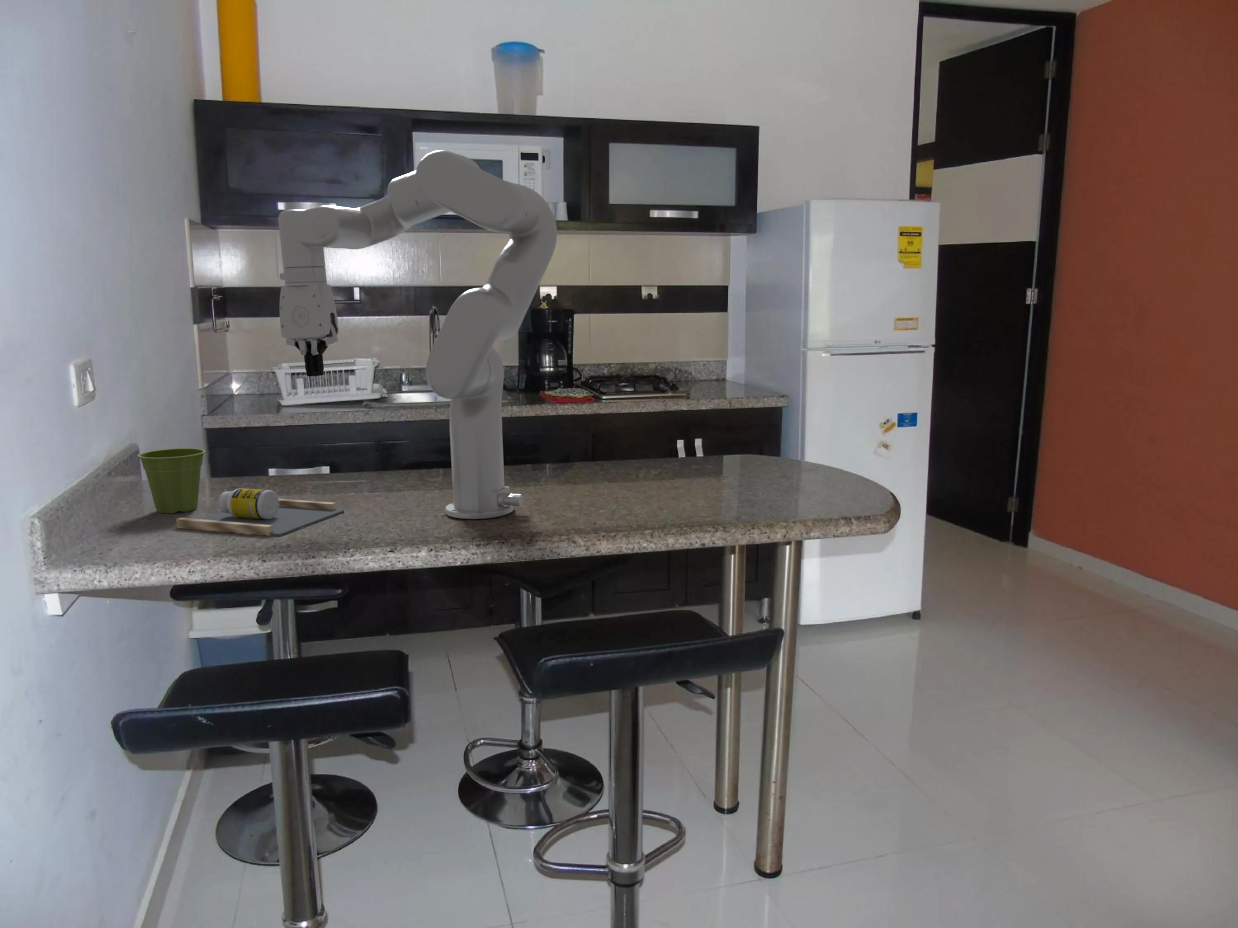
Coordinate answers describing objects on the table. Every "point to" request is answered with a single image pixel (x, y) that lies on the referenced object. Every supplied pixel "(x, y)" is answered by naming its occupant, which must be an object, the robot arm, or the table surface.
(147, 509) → the table surface
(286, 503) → the strip right
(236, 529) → the strip left
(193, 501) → the plant pot
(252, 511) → the supplement bottle
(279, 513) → the mat
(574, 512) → the table surface
